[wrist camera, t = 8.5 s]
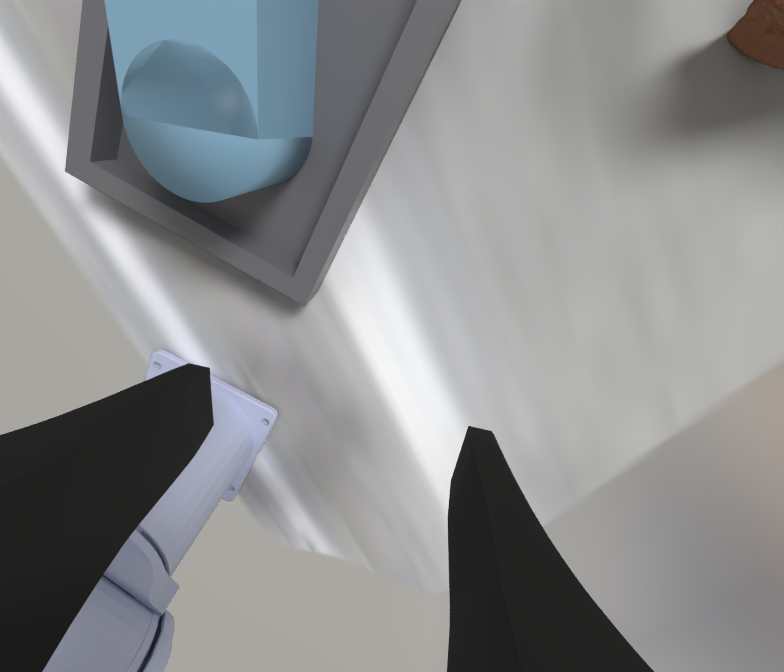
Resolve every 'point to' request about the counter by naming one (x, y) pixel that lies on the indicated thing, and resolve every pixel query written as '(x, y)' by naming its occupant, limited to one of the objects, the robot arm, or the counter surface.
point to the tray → (327, 154)
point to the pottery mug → (761, 33)
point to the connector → (216, 90)
